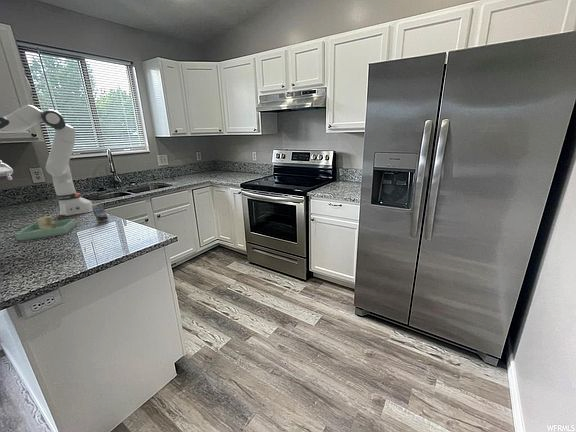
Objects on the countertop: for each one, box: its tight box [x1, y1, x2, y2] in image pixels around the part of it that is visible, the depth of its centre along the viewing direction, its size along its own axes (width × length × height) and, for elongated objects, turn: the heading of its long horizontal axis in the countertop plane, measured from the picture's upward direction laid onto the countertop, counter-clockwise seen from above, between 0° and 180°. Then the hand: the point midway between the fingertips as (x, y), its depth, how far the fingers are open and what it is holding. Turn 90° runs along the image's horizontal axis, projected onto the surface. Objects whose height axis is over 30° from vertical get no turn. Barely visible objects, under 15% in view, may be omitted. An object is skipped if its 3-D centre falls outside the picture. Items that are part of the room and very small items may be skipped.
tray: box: [14, 218, 78, 242], centre depth 155 cm, size 22×18×4 cm
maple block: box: [36, 215, 56, 230], centre depth 154 cm, size 5×5×8 cm
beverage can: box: [92, 202, 108, 223], centre depth 169 cm, size 6×7×12 cm
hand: (2, 180), depth 161 cm, fingers open, 8 cm apart
